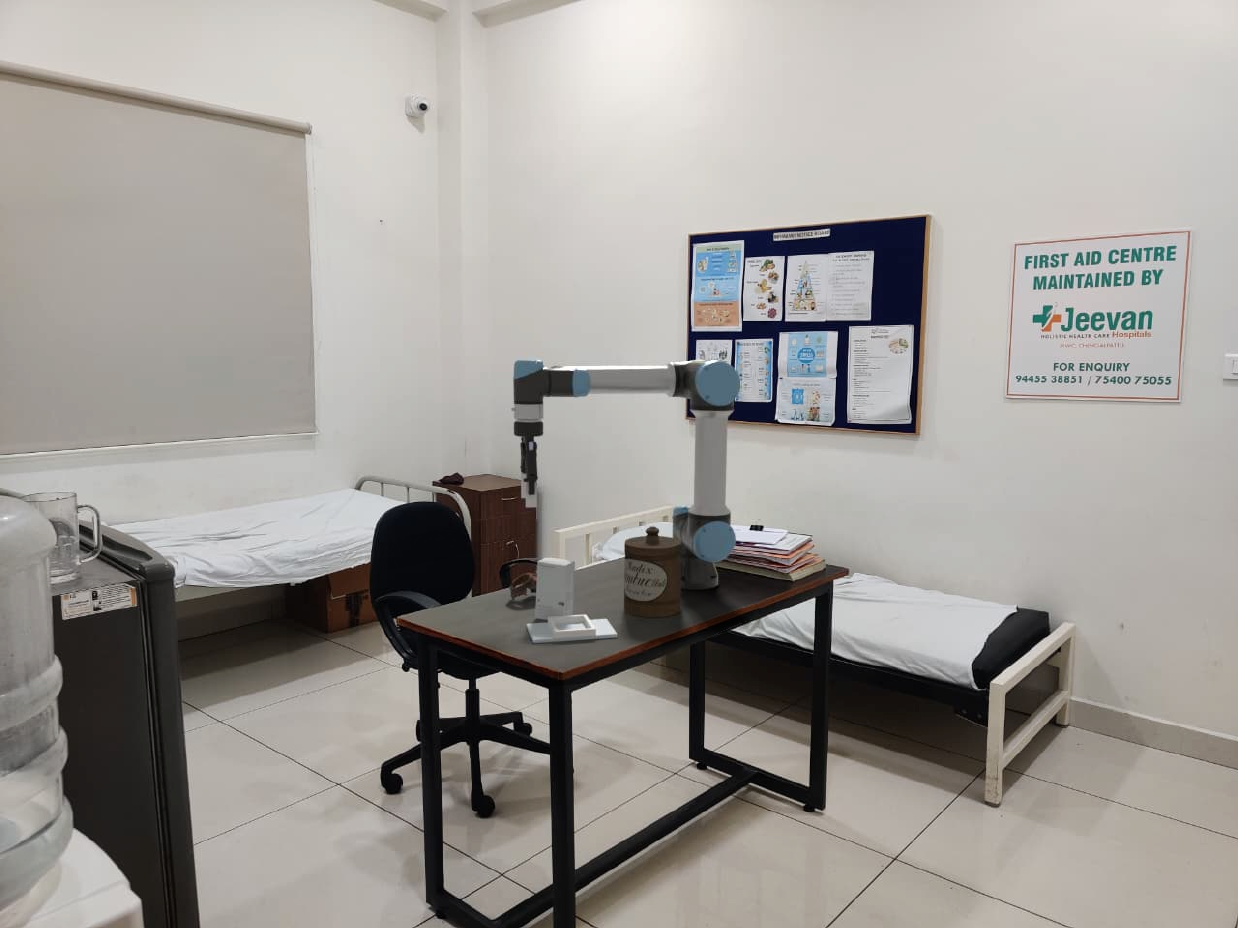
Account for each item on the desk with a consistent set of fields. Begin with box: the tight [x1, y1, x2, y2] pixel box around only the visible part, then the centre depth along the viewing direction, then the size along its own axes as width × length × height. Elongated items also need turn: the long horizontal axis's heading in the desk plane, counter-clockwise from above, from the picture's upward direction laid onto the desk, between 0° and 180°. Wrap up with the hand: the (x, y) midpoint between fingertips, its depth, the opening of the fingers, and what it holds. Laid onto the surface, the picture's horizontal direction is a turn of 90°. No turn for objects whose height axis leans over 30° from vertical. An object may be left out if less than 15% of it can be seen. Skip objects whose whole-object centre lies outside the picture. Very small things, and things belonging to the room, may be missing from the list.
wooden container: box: [623, 525, 682, 618], centre depth 231 cm, size 15×15×22 cm
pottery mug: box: [508, 572, 537, 600], centre depth 241 cm, size 12×10×8 cm
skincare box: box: [534, 557, 576, 621], centre depth 224 cm, size 8×6×15 cm
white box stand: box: [526, 614, 618, 644], centre depth 213 cm, size 20×12×2 cm, turn 103°
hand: (528, 502), depth 230 cm, fingers open, 13 cm apart
